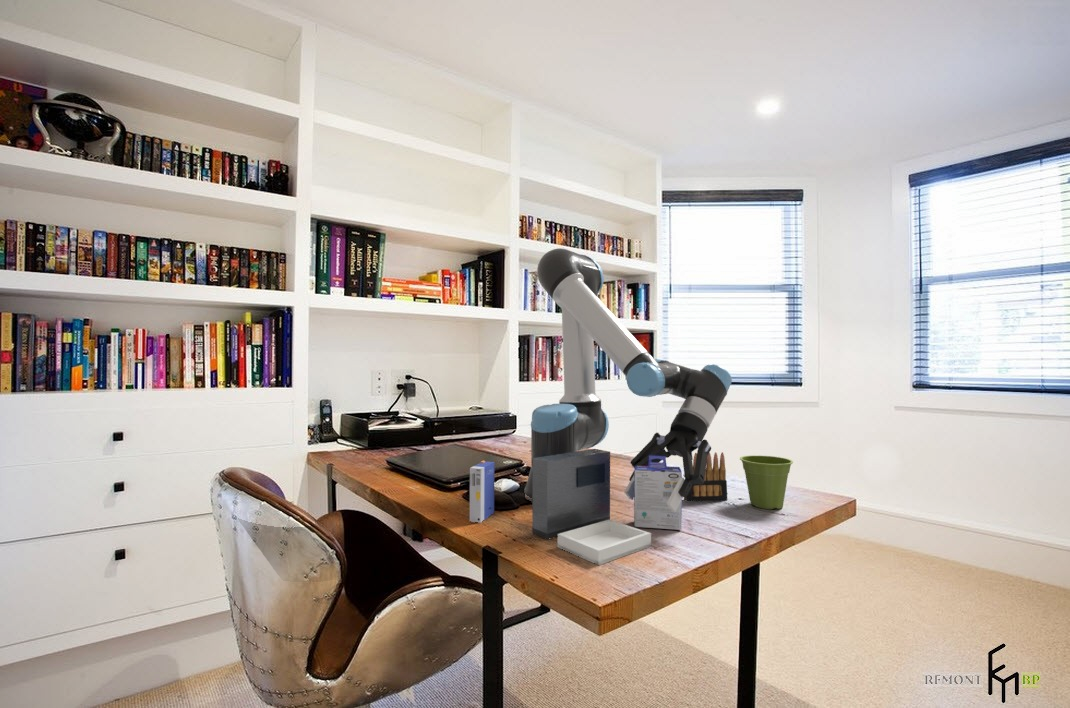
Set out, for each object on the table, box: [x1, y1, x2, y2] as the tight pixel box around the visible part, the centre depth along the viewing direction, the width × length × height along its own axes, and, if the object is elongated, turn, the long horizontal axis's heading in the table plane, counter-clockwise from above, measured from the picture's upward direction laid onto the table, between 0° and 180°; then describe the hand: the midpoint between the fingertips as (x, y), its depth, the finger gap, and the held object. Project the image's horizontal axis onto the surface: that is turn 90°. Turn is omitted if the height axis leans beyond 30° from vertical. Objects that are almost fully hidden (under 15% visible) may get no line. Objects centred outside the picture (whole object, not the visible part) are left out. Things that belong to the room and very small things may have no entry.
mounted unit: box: [531, 448, 611, 540], centre depth 107 cm, size 5×18×15 cm, turn 129°
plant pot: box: [739, 455, 794, 510], centre depth 124 cm, size 12×12×11 cm
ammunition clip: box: [683, 452, 728, 503], centre depth 129 cm, size 11×2×12 cm, turn 96°
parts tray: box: [557, 518, 652, 566], centre depth 96 cm, size 11×14×2 cm
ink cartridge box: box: [633, 455, 683, 531], centre depth 108 cm, size 10×6×14 cm, turn 79°
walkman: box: [469, 460, 495, 524], centre depth 114 cm, size 8×3×12 cm, turn 162°
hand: (648, 501), depth 107 cm, fingers closed on ink cartridge box, 10 cm apart
